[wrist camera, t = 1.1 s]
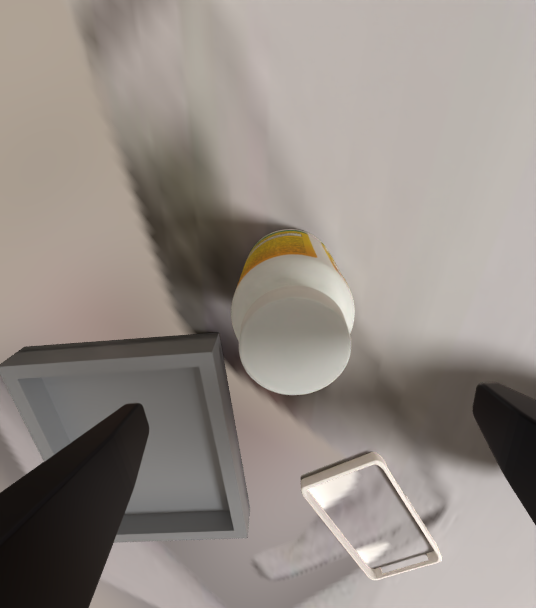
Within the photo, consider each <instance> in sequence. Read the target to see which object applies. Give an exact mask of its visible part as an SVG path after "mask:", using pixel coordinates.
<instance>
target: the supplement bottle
mask: <svg viewBox="0 0 536 608" xmlns="http://www.w3.org/2000/svg"><path fill="white" fill-rule="evenodd" d="M354 316H355V308H354V301H353V297H352V294H351V291H350V289H349V287H348V285H347V283H346V281H345V279H344V277H343V276H342V274H341V272H340V270H339V269H338V267H337V265H336V264H335V262H334V260H333V258H332V256H331V255H330V253H329V251H328V250H327V248H326V247H325V246H324V244H323V243H322V242H321V241H320V240H319V239H318V238H316V237H315V236H313V235H312V234H310V233H307V232H305V231H302V230H297V229H285V230H279V231H275V232H272V233H270V234H268V235H266V236H265V237H263V238H262V239H260V240H259V241H258V242H257V243H256V244H255V245H254V247H253V248H252V250H251V251H250V253H249V255H248V258H247V260H246V263H245V265H244V268H243V271H242V274H241V277H240V280H239V282H238V285H237V288H236V291H235V294H234V297H233V301H232V306H231V320H232V326H233V329H234V332H235V335H236V337H237V339H238V340H239V355H240V359H241V362H242V364H243V366H244V368H245V370H246V372H247V373H248V374H249V376H250V377H251V378H252V379H253V380H254V381H256V382H257V383H258V384H259V385H261V386H262V387H264V388H266V389H268V390H270V391H273V392H276V393H280V394H285V395H303V394H308V393H312V392H315V391H318V390H320V389H322V388H324V387H326V386H328V385H329V384H330V383H332V382H333V381H334V380H335V379H336V378H337V377H338V376H339V375H340V374H341V373H342V372H343V370H344V369H345V367H346V365H347V363H348V360H349V357H350V352H351V337H350V333H351V330H352V327H353V323H354Z"/></svg>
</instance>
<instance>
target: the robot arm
mask: <svg viewBox="0 0 536 608" xmlns="http://www.w3.org/2000/svg"><path fill="white" fill-rule="evenodd" d="M473 415H474V417H475V420H476V422H477V423H478V425H479V427H480V429H481V431H482V433H483V435H484V437H485V439H486V441H487V443H488V445H489V447H490V449H491V451H492V453H493V455H494V457H495V459H496V461H497V463H498V465H499V467H500V469H501V470H502V472H503V474H504V476H505V477H506V479H507V481H508V482H509V484H510V486H511V487H512V489H513V490H514V492H515V493H516V495H517V497H518V498H519V500H520V501H521V503H522V504H523V506H524V508H525V509H526V511H527V512H528V514H529V515H530V517H531V519H532V520H533V522H534V523H535V525H536V400H534V399H532V398H530V397H528V396H526V395H523V394H521V393H519V392H517V391H515V390H513V389H510V388H508V387H506V386H504V385H502V384H500V383H497V382H486V383H480V384H478V386H477V388H476V393H475V398H474V403H473ZM148 436H149V424H148V421H147V417H146V414H145V411H144V408H143V406H142V404H140V403H129V404H125V405H123V406H122V407H121V408H119V409H118V410H116V411H115V412H114V413H112V414H111V415H109V416H108V417H106V418H105V419H104V420H102V421H101V422H99V423H98V424H97V425H95V426H94V427H92V428H91V429H90V430H88V431H87V432H85V433H84V434H83V435H81V436H80V437H78V438H77V439H75V440H74V441H73V442H71V443H70V444H68V445H67V446H66V447H64V448H63V449H61V450H60V451H59V452H57V453H56V454H54V455H53V456H52V457H50V458H49V459H47V460H46V461H44V462H43V463H42V464H40V465H39V466H37V467H36V468H35V469H33V470H32V471H30V472H29V473H28V474H26V475H25V476H23V477H22V478H21V479H19V480H18V481H16V482H15V483H13V484H12V485H11V486H9V487H8V488H6V489H5V490H4V491H2V492H1V493H0V608H89V605H90V602H91V600H92V597H93V595H94V592H95V590H96V587H97V584H98V582H99V579H100V577H101V574H102V571H103V569H104V566H105V564H106V561H107V558H108V556H109V553H110V550H111V548H112V545H113V543H114V540H115V537H116V535H117V532H118V530H119V527H120V524H121V522H122V519H123V516H124V514H125V511H126V509H127V506H128V503H129V501H130V498H131V495H132V493H133V490H134V487H135V483H136V480H137V476H138V473H139V469H140V465H141V461H142V458H143V454H144V450H145V447H146V443H147V439H148Z"/></svg>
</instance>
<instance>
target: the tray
mask: <svg viewBox="0 0 536 608" xmlns="http://www.w3.org/2000/svg"><path fill="white" fill-rule="evenodd" d="M0 376H1V378H2V380H3V382H4V383H5V385H6V387H7V389H8V391H9V393H10V395H11V397H12V399H13V401H14V403H15V405H16V407H17V409H18V411H19V413H20V415H21V417H22V419H23V421H24V423H25V425H26V427H27V429H28V431H29V433H30V435H31V437H32V439H33V441H34V443H35V445H36V447H37V448H38V450H39V452H40V454H41V456H42V458H43V460H44V461H46V460H47V459H49V458H50V457H52V456H53V455H54V454H56V453H57V452H59V451H60V450H61V449H63V448H64V447H66V446H67V445H68V444H70V443H71V442H73V441H74V440H75V439H77V438H78V437H80V436H81V435H83V434H84V433H85V432H87V431H88V430H90V429H91V428H92V427H94V426H95V425H97V424H98V423H99V422H101V421H102V420H104V419H105V418H106V417H108V416H109V415H111V414H112V413H114V412H115V411H116V410H118V409H119V408H121V407H122V406H123V405H125V404H129V403H140V404H142V406H143V408H144V411H145V414H146V417H147V421H148V424H149V436H148V439H147V443H146V447H145V450H144V454H143V458H142V461H141V465H140V469H139V473H138V476H137V480H136V483H135V487H134V490H133V493H132V495H131V498H130V501H129V503H128V506H127V509H126V511H125V514H124V516H123V519H122V522H121V524H120V527H119V530H118V532H117V535H116V537H115V540H114V542H144V541H173V540H203V539H231V538H232V539H233V538H248V528H249V527H248V526H249V516H250V505H249V500H248V494H247V488H246V483H245V477H244V472H243V466H242V461H241V454H240V449H239V443H238V438H237V432H236V426H235V420H234V415H233V409H232V403H231V398H230V392H229V386H228V381H227V375H226V369H225V364H224V358H223V352H222V347H221V341H220V335H219V333H206V334H192V335H179V336H165V337H151V338H138V339H124V340H111V341H97V342H84V343H70V344H56V345H44V346H30V347H24V348H22V349H21V350H19V351H18V352H17V353H15V354H14V355H12V356H11V357H10V358H8V359H7V360H5V361H4V362H3V363H1V364H0Z"/></svg>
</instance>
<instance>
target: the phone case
mask: <svg viewBox="0 0 536 608" xmlns="http://www.w3.org/2000/svg"><path fill="white" fill-rule="evenodd" d="M374 464H375V465H378V466H380V467H381V468H382V469H383V470H384V471H385V473H386V475H387V476H388V478H389V479H390V481H391V482H392V484H393V486H394V487H395V489H396V490H397V492H398V493H399V495H400V497H401V498H402V500H403V501H404V503H405V505H406V506H407V508H408V509H409V511H410V512H411V514H412V516H413V517H414V519H415V520H416V522H417V523H418V525H419V527H420V528H421V530H422V531H423V533H424V534H425V536H426V538H427V539H428V541H429V542H430V544H431V546H432V547H433V549H434V551H432V552H429V553H426V554H427V556H428V559H429V560H428V561H424V562H421V563H417V564H414V565H410V566H407V567H404V568H400V569H397V570H393V571H390V572H386V573H383V572H382V569H381V567H379V568H376V569H372V568H370V567H368V566H367V565H366V564H367V563H369V562H371V561H372V560H373V559H374V558H375V557H377V556H378V555H380V554H381V552H382V551H384V550H385V549H386V548H387V546H388V544H387V543H383V544H378V545H373V546H369V547H365V548H362V549H359V550H357V551H355V549H354V548H353V547H352V545H351V544H350V543H349V542H348V540H347V539H346V538H345V536H344V535H343V534H342V533H341V531H340V530H339V529H338V528H337V526H336V525H335V524H334V522H333V521H332V520H331V519H330V517H329V516H328V515H327V513H326V512H325V511H324V510H323V509H325V508H326V507H328V506H330V505H331V504H332V503H333V502H334V501H336V500H337V499H339V498H341V497H342V496H344V495H345V494H346V492H347V491H349V490H350V489H351V487H352V485H353V483H354V482H355V471H357V470H360V469H363V468H365V467H368V466H371V465H374ZM301 492H302V495H303V496H304V498H305V499H306V500H307V501H308V503H309V504H310V505H311V506H312V508H313V509H314V510H315V512H316V513H317V514H318V515H319V517H320V518H321V519H322V520H323V522H324V523H325V524H326V525H327V527H328V528H329V529H330V530H331V532H332V533H333V534H334V535H335V537H336V538H337V539H338V540H339V542H340V543H341V544H342V545H343V547H344V548H345V549H346V550H347V552H348V553H349V554H350V555H351V557H352V558H353V559H354V560H355V562H356V563H357V564H358V565H359V567H360V568H361V569H362V570H363V572H364V573H365V574H366V575H367V577H368V578H370V579H372V580H379V579H382V578H386V577H389V576H393V575H396V574H400V573H403V572H407V571H410V570H414V569H417V568H421V567H424V566H428V565H431V564H435V563H438V562H441V560H442V556H441V553H440V551H439V548H438V546H437V544H436V543H435V541H434V539H433V538H432V536H431V535H430V533H429V531H428V530H427V528H426V527H425V525H424V523H423V522H422V520H421V519H420V517H419V515H418V514H417V512H416V510H415V509H414V507H413V506H412V504H411V502H410V501H409V499H408V498H407V496H406V495H404V493H403V492H402V490H401V488H400V487H399V485H398V484H397V482H396V480H395V479H394V477H393V476H392V474H391V472H390V471H389V469H388V467H387V464H386V462H385V461H384V459H383V458H382V456H381V455H379V454H378V453H376V452H371V453H368V454H366V455H363V456H360V457H358V458H355V459H353V460H350V461H348V460H347V459H346V458H344V459H342V460H339V461H337V462H335V463H332V464H329V465H326V466H324V467H321V468H319V469H316V470H313V471H311V472H308V473H306V474H303V475H301Z"/></svg>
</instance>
